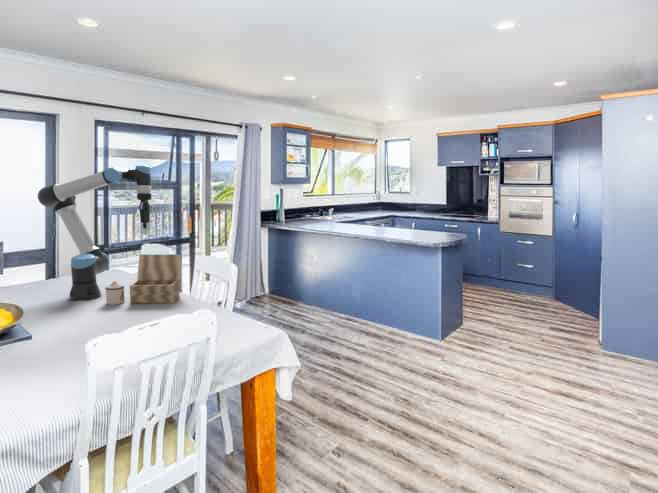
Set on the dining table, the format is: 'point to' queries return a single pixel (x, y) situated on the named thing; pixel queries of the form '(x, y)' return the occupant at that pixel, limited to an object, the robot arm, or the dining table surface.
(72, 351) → the dining table surface
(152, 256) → the lid flap
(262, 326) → the dining table surface
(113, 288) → the teacup with lid
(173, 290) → the wicker basket box
